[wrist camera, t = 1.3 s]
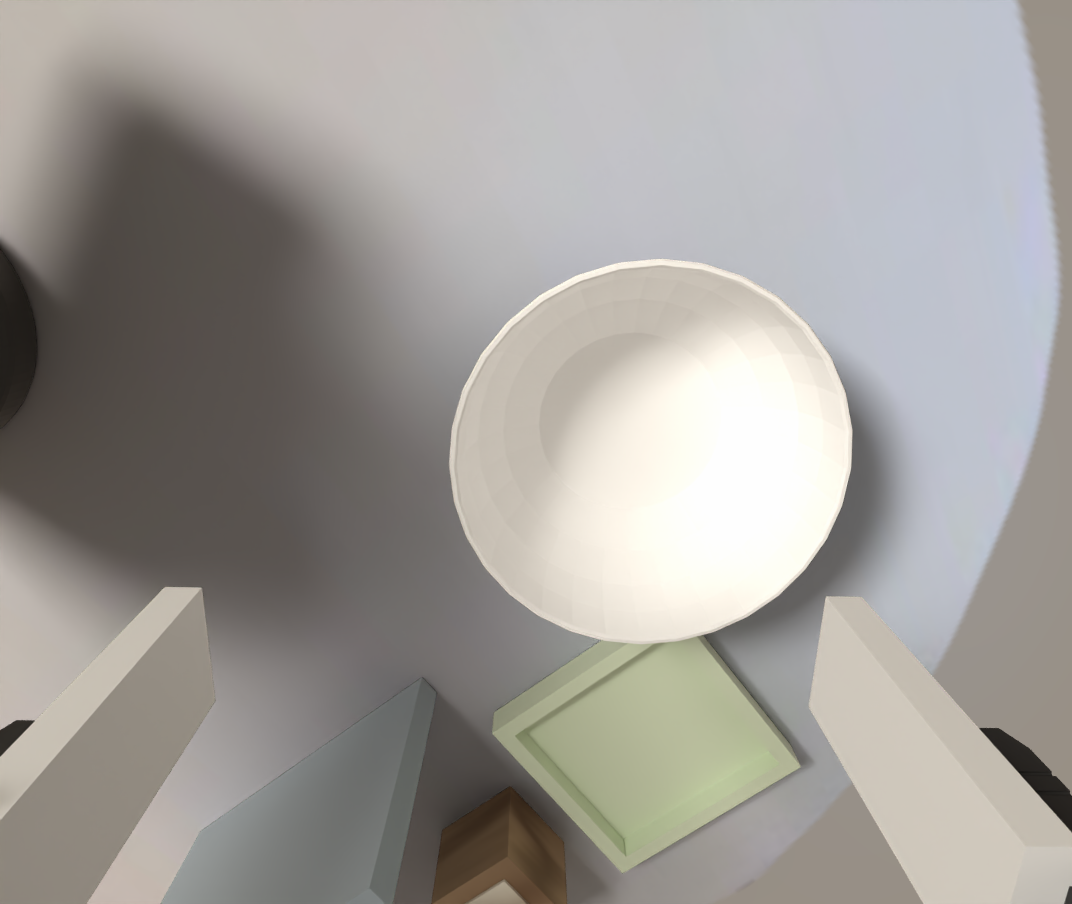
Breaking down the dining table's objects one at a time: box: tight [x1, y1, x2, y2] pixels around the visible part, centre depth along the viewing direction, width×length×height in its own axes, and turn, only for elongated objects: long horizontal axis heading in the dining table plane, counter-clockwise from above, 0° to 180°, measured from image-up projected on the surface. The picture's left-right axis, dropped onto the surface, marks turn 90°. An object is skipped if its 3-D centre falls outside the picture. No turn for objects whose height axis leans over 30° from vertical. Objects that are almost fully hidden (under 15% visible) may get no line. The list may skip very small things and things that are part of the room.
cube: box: [431, 786, 567, 904], centre depth 49 cm, size 6×6×6 cm
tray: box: [492, 635, 801, 874], centre depth 48 cm, size 14×14×2 cm
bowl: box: [449, 259, 852, 644], centre depth 39 cm, size 19×19×9 cm
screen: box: [161, 678, 437, 904], centre depth 42 cm, size 20×2×16 cm, turn 128°
